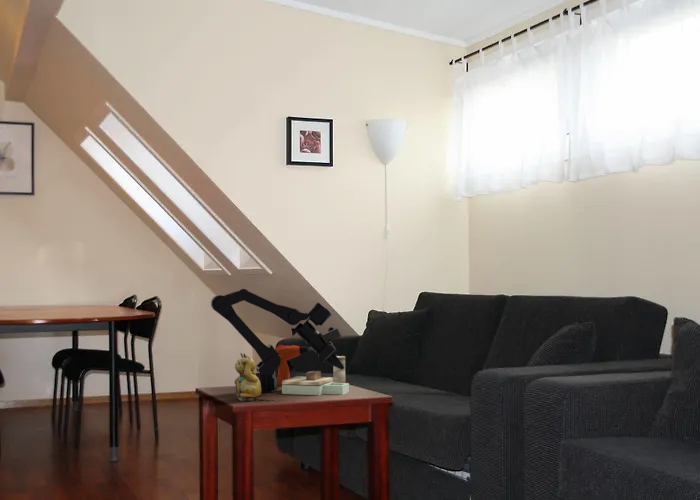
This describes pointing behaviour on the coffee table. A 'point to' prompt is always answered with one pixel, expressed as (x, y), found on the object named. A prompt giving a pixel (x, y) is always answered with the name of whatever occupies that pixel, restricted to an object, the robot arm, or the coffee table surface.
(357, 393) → the coffee table surface
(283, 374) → the toy drill
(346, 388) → the pale green tray
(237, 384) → the decorative figurine
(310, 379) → the lid
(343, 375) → the cream upright cylinder
